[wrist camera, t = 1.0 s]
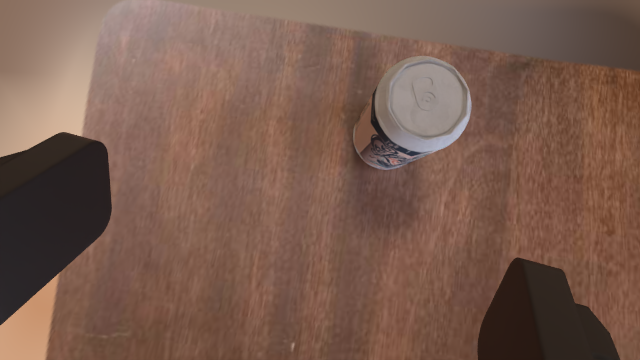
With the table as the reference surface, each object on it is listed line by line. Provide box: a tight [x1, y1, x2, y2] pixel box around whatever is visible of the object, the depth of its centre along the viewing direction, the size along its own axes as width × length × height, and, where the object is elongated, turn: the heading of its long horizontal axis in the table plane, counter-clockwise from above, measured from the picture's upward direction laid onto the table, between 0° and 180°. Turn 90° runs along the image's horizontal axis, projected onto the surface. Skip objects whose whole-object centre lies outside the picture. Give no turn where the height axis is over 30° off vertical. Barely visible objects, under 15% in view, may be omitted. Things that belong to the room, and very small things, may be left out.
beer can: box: [353, 56, 471, 170], centre depth 28 cm, size 5×5×12 cm
